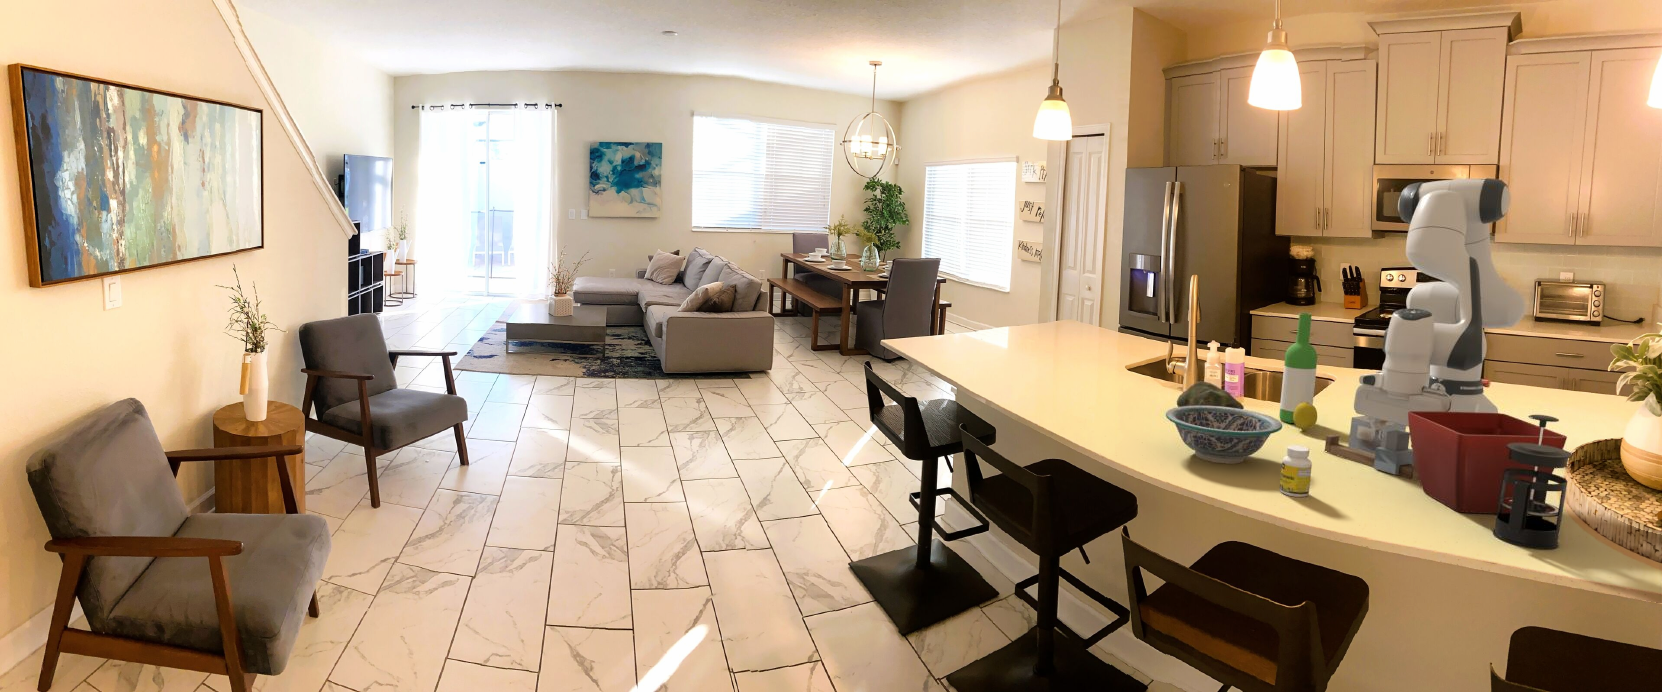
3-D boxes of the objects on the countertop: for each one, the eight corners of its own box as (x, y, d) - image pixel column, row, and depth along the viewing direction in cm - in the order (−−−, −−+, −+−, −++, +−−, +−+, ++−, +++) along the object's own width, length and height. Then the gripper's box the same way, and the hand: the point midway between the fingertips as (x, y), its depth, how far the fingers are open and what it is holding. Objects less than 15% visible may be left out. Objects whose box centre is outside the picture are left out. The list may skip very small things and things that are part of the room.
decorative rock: (1216, 408, 250) (1219, 375, 248) (1249, 422, 235) (1252, 387, 233) (1168, 410, 248) (1171, 376, 246) (1198, 424, 233) (1201, 388, 231)
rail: (1333, 450, 209) (1335, 434, 208) (1426, 478, 188) (1429, 461, 187) (1324, 451, 208) (1326, 435, 207) (1417, 480, 187) (1419, 462, 186)
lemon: (1318, 434, 223) (1322, 404, 222) (1295, 433, 224) (1298, 403, 223) (1311, 428, 228) (1314, 399, 227) (1289, 427, 230) (1291, 398, 228)
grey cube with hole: (1371, 445, 213) (1375, 414, 212) (1402, 454, 206) (1406, 422, 204) (1347, 449, 210) (1351, 417, 209) (1378, 458, 203) (1382, 425, 201)
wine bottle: (1293, 426, 231) (1304, 316, 226) (1272, 418, 239) (1282, 312, 233) (1317, 424, 233) (1329, 315, 228) (1295, 417, 240) (1306, 311, 235)
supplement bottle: (1273, 489, 181) (1278, 444, 179) (1298, 488, 181) (1302, 444, 180) (1289, 498, 176) (1294, 452, 174) (1314, 497, 176) (1319, 451, 174)
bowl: (1269, 448, 211) (1273, 410, 209) (1286, 479, 188) (1291, 436, 186) (1161, 438, 219) (1164, 401, 217) (1164, 466, 196) (1167, 426, 194)
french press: (1505, 525, 162) (1523, 406, 158) (1568, 541, 154) (1588, 417, 150) (1480, 538, 155) (1497, 415, 151) (1544, 556, 148) (1564, 427, 144)
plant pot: (1396, 485, 184) (1405, 409, 181) (1491, 489, 182) (1502, 412, 179) (1450, 518, 165) (1461, 434, 162) (1557, 523, 163) (1570, 437, 160)
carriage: (1393, 465, 197) (1397, 427, 195) (1414, 471, 192) (1419, 433, 191) (1373, 468, 194) (1378, 430, 193) (1394, 474, 190) (1399, 436, 188)
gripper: (1462, 391, 181) (1454, 454, 184) (1371, 373, 200) (1365, 430, 203) (1442, 393, 179) (1433, 457, 182) (1352, 374, 198) (1346, 432, 200)
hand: (1397, 442), depth 192 cm, fingers open, 8 cm apart
